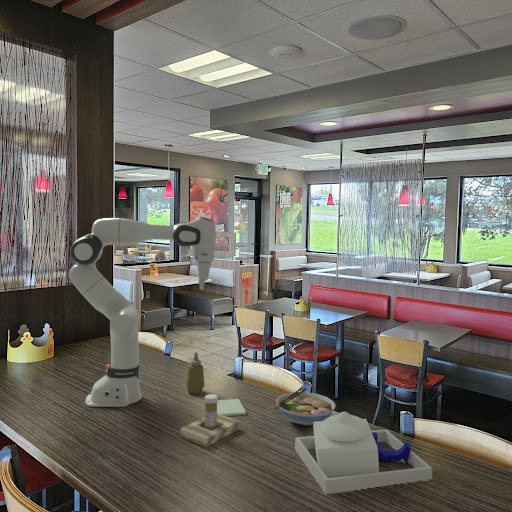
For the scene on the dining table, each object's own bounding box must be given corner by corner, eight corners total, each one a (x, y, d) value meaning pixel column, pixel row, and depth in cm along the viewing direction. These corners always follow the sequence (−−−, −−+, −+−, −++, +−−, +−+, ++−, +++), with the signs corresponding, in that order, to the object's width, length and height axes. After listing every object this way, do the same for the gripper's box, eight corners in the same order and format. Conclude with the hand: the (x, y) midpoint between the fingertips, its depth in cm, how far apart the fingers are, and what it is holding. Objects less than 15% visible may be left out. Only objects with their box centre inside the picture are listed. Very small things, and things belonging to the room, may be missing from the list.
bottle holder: (205, 447, 150) (206, 438, 150) (180, 436, 157) (180, 428, 157) (239, 428, 164) (239, 420, 164) (214, 419, 171) (214, 412, 171)
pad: (210, 417, 174) (210, 414, 174) (205, 403, 187) (205, 401, 187) (245, 414, 177) (246, 412, 177) (238, 401, 191) (238, 398, 190)
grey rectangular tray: (325, 494, 125) (326, 480, 125) (294, 449, 150) (295, 437, 150) (431, 481, 134) (432, 468, 133) (385, 440, 159) (386, 429, 159)
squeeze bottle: (182, 394, 197) (183, 353, 196) (191, 388, 204) (192, 349, 203) (198, 397, 194) (199, 356, 193) (207, 391, 201) (208, 351, 200)
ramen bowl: (318, 442, 156) (319, 419, 155) (262, 425, 168) (263, 404, 167) (344, 417, 177) (345, 397, 177) (293, 404, 189) (294, 385, 189)
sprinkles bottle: (211, 428, 164) (211, 392, 163) (219, 433, 161) (220, 396, 160) (201, 432, 160) (202, 395, 160) (209, 437, 157) (210, 399, 156)
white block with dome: (319, 478, 133) (315, 427, 132) (314, 446, 151) (311, 401, 150) (379, 475, 132) (376, 424, 131) (367, 444, 150) (364, 398, 148)
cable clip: (368, 455, 144) (373, 438, 143) (367, 448, 148) (372, 431, 148) (406, 467, 142) (411, 450, 141) (404, 460, 146) (409, 443, 146)
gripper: (195, 252, 202) (193, 282, 203) (197, 257, 182) (194, 291, 183) (209, 253, 203) (207, 283, 204) (212, 258, 183) (210, 292, 184)
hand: (201, 287), depth 194 cm, fingers open, 8 cm apart
